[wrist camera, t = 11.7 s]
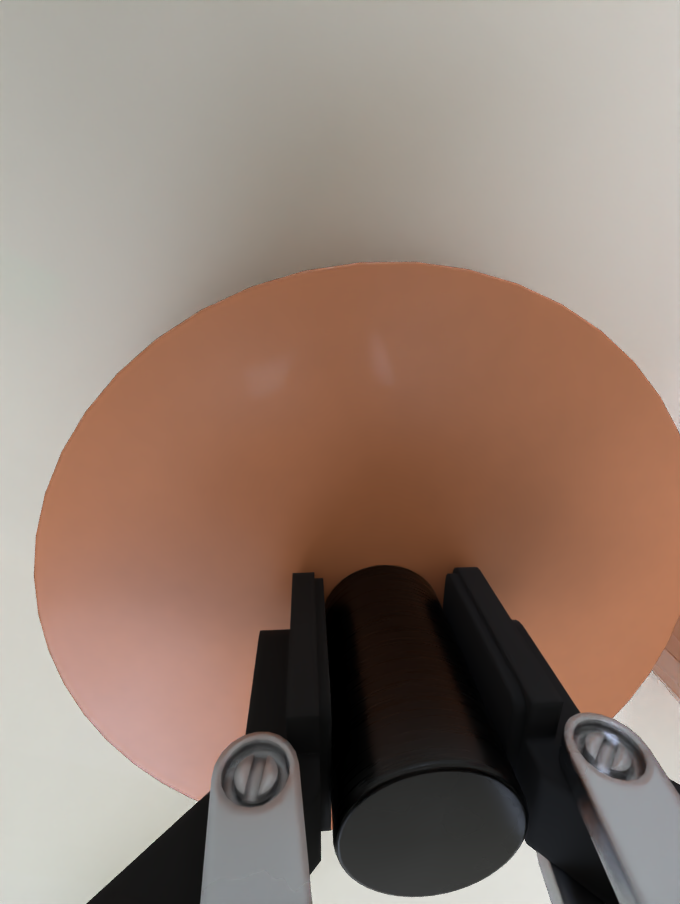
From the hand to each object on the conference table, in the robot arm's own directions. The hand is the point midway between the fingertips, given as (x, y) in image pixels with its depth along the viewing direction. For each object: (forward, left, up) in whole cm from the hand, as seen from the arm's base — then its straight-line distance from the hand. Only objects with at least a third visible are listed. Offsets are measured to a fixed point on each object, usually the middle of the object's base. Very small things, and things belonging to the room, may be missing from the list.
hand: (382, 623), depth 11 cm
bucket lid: (0, 0, -1) cm, 1 cm away
